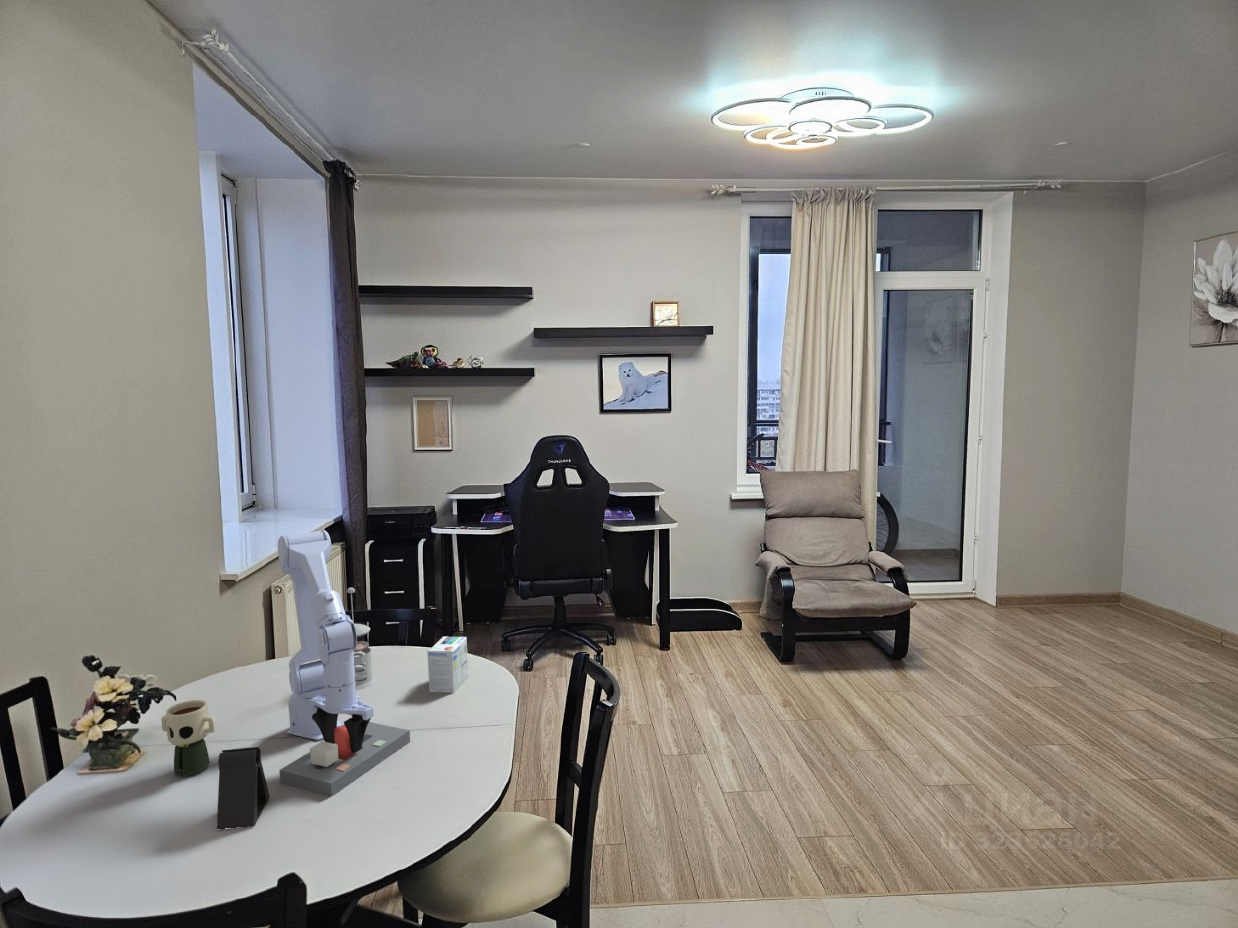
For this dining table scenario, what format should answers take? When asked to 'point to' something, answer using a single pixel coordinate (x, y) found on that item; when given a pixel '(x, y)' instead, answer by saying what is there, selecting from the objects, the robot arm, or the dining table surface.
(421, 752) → the dining table surface
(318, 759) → the lever
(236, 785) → the phone stand
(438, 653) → the light bulb box
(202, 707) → the character mug
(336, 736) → the pin
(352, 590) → the french press
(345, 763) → the breaker panel
